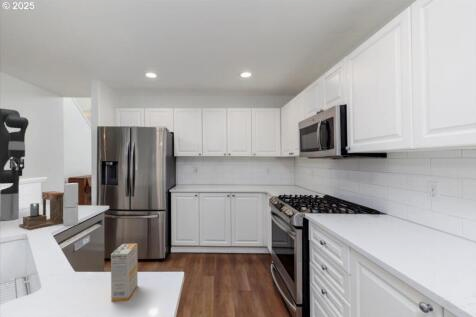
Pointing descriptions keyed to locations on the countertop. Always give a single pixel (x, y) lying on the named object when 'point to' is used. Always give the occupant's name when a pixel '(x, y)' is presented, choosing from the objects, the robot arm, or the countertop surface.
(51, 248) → the countertop surface
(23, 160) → the robot arm
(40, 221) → the wooden frame stand
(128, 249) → the supplement box
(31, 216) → the steel peg
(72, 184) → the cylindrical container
